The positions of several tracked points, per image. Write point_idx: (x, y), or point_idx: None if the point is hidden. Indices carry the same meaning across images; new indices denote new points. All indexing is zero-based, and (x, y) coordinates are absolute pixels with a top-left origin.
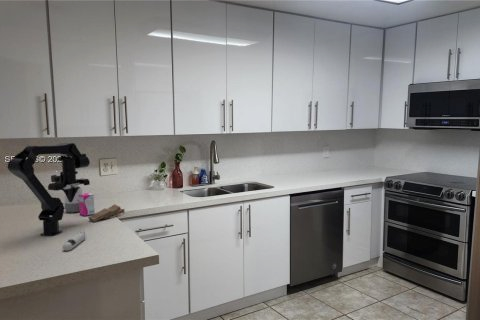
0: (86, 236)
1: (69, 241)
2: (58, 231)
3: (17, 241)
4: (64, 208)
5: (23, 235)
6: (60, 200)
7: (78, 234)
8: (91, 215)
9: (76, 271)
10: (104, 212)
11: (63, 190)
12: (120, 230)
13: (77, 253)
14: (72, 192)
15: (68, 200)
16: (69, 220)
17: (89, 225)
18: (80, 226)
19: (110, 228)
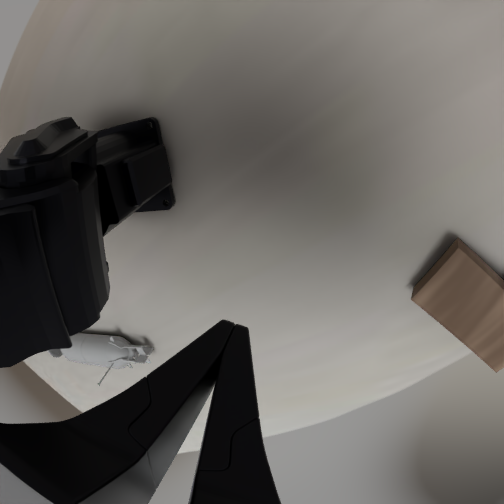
0: (130, 367)
1: (71, 340)
2: (148, 201)
3: (20, 113)
4: (96, 320)
5: (69, 47)
6: (19, 359)
7: (98, 361)
8: (477, 265)
9: (38, 375)
10: (488, 343)
11: (46, 437)
12: (276, 418)
13: (68, 361)
14: (154, 487)
15: (205, 333)
16: (460, 70)
17: (343, 289)
18: (100, 382)
19: (297, 390)
